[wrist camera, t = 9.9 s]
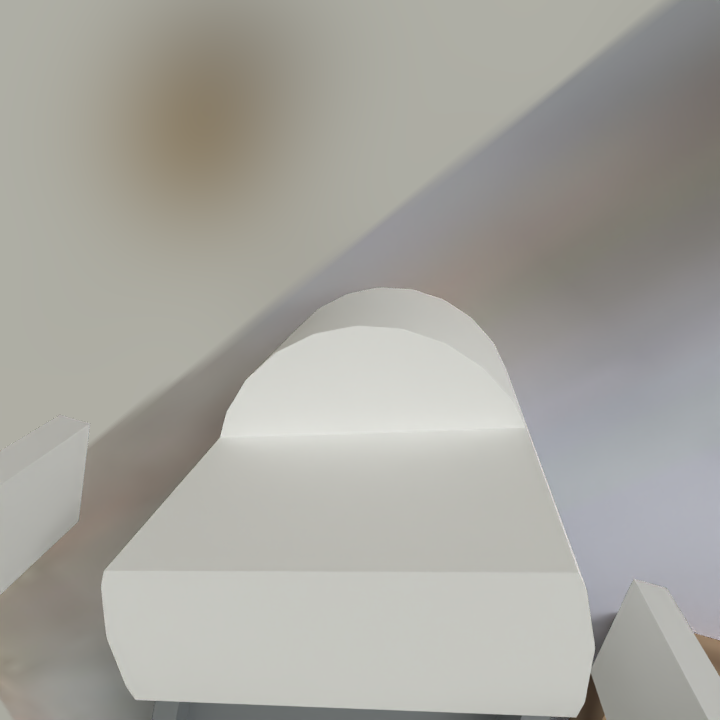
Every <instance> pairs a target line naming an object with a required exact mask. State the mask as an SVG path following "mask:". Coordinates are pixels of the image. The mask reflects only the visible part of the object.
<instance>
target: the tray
mask: <svg viewBox="0 0 720 720" xmlns="http://www.w3.org/2000/svg"><path fill="white" fill-rule="evenodd" d="M550 719H551V716H527V715H502V714H477V713H452V712H426V711H401V710H376V709H351V708H326V707H301V706H275V705H250V704H225V703H200V702H175V701H155V705H154V711H153V716H152V720H550Z"/></svg>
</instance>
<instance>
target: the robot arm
mask: <svg viewBox="0 0 720 720" xmlns="http://www.w3.org/2000/svg"><path fill="white" fill-rule="evenodd" d="M89 430H90V423H88V422H84V421H80V420H77V419H74V418H70V417H67V416H63V415H58V416H57V417H55V418H53V419H52V420H50V421H48V422H47V423H45V424H43V425H42V426H40V427H38V428H37V429H35V430H33V431H32V432H30V433H28V434H27V435H25V436H23V437H22V438H20V439H19V440H17V441H15V442H13V443H12V444H11V445H8V446H7V447H5V448H4V449H2V450H0V595H1V594H2V593H3V592H4V591H5V590H6V589H7V588H8V587H9V586H10V585H11V584H12V583H13V582H14V581H15V580H17V579H18V578H19V577H20V576H21V575H22V574H23V573H24V572H25V571H26V570H27V569H28V568H29V567H30V566H31V565H33V564H34V563H35V562H36V561H37V560H38V559H39V558H40V557H41V556H42V555H43V554H44V553H45V552H46V551H47V550H48V549H50V548H51V547H52V546H53V545H54V544H55V543H56V542H57V541H58V540H59V539H60V538H61V537H62V536H63V535H64V534H66V533H67V532H68V531H69V530H70V529H71V528H72V527H73V526H74V525H75V524H76V523H77V522H78V521H79V514H80V506H81V497H82V489H83V481H84V472H85V464H86V455H87V447H88V439H89ZM591 675H592V678H593V681H594V684H595V687H596V690H597V693H598V696H599V699H600V702H601V705H602V708H603V711H604V714H605V717H606V720H720V676H719V675H718V673H717V671H716V670H715V668H714V666H713V665H712V663H711V661H710V660H709V658H708V656H707V655H706V653H705V651H704V650H703V648H702V646H701V645H700V643H699V641H698V640H697V638H696V636H695V635H694V633H693V631H692V630H691V628H690V626H689V625H688V623H687V621H686V620H685V618H684V616H683V615H682V613H681V611H680V610H679V608H678V606H677V605H676V603H675V601H674V599H673V598H672V596H671V594H670V593H669V591H668V589H667V588H665V587H661V586H658V585H654V584H651V583H647V582H644V581H640V580H637V579H633V581H632V583H631V585H630V587H629V590H628V592H627V594H626V596H625V598H624V600H623V602H622V604H621V607H620V609H619V611H618V613H617V615H616V617H615V619H614V621H613V623H612V626H611V628H610V630H609V632H608V634H607V636H606V638H605V640H604V643H603V645H602V647H601V649H600V651H599V653H598V655H597V657H596V660H595V662H594V664H593V666H592V668H591Z"/></svg>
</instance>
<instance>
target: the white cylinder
mask: <svg viewBox="0 0 720 720" xmlns="http://www.w3.org/2000/svg"><path fill="white" fill-rule="evenodd" d="M101 592H102V601H103V611H104V620H105V629H106V638H107V640H108V643H109V645H110V648H111V650H112V653H113V655H114V658H115V660H116V663H117V665H118V668H119V670H120V673H121V675H122V678H123V680H124V683H125V685H126V687H127V688H128V690H129V691H130V693H131V694H132V695H133V697H134V698H135V700H149V701H175V702H200V703H225V704H250V705H275V706H301V707H326V708H351V709H376V710H401V711H426V712H452V713H477V714H502V715H527V716H552V717H577V715H578V714H579V712H580V710H581V708H582V707H583V705H584V703H585V699H586V694H587V688H588V683H589V678H590V673H591V668H592V663H593V657H594V652H595V643H594V636H593V629H592V622H591V615H590V608H589V601H588V594H587V589H586V586H585V583H584V581H583V578H582V575H581V573H580V570H579V567H578V564H577V562H576V559H575V556H574V553H573V551H572V548H571V545H570V542H569V540H568V537H567V534H566V532H565V529H564V526H563V523H562V521H561V518H560V515H559V512H558V510H557V507H556V504H555V501H554V499H553V496H552V493H551V490H550V488H549V485H548V482H547V480H546V477H545V474H544V471H543V469H542V466H541V463H540V460H539V458H538V455H537V452H536V449H535V447H534V444H533V441H532V439H531V436H530V433H529V430H528V428H527V425H526V422H525V419H524V417H523V414H522V411H521V408H520V406H519V403H518V400H517V397H516V395H515V392H514V389H513V387H512V384H511V381H510V378H509V376H508V373H507V370H506V368H505V366H504V364H503V362H502V360H501V358H500V356H499V354H498V351H497V349H496V347H495V345H494V343H493V342H492V340H491V339H490V338H489V337H488V336H487V335H486V334H485V332H484V331H483V330H482V329H481V328H480V327H479V326H478V324H477V323H476V322H475V321H474V320H473V319H472V318H471V317H470V316H468V315H467V314H465V313H464V312H462V311H461V310H459V309H457V308H456V307H454V306H453V305H451V304H450V303H448V302H447V301H445V300H443V299H440V298H437V297H434V296H431V295H428V294H425V293H422V292H419V291H416V290H413V289H401V288H385V287H378V288H373V289H368V290H363V291H358V292H353V293H348V294H346V295H344V296H342V297H340V298H338V299H336V300H334V301H332V302H330V303H328V304H326V305H324V306H322V307H320V308H319V309H318V310H317V311H316V312H315V313H313V314H312V315H311V316H310V317H309V318H308V319H307V320H306V321H305V322H304V323H303V324H301V325H300V326H299V327H298V328H297V329H296V330H295V331H294V332H293V333H292V334H291V335H290V336H289V337H288V338H287V339H286V340H285V341H284V342H283V343H282V344H281V345H280V346H279V347H278V348H277V349H276V350H275V351H274V352H273V353H272V354H271V355H270V356H269V357H268V358H267V359H266V360H265V361H264V362H263V363H262V364H261V365H260V366H259V367H258V368H257V369H256V370H255V371H254V372H253V373H252V374H251V375H250V376H249V377H248V378H247V379H246V381H245V382H244V384H243V386H242V387H241V389H240V391H239V392H238V394H237V396H236V397H235V399H234V401H233V402H232V404H231V406H230V407H229V409H228V411H227V412H226V416H225V420H224V424H223V428H222V432H221V435H220V438H219V439H218V440H217V442H216V443H215V444H214V445H213V446H212V447H211V448H210V450H209V451H208V452H207V453H206V454H205V455H204V456H203V458H202V459H201V460H200V461H199V462H198V463H197V464H196V466H195V467H194V468H193V469H192V470H191V471H190V473H189V474H188V475H187V476H186V477H185V478H184V479H183V481H182V482H181V483H180V484H179V485H178V486H177V487H176V489H175V490H174V491H173V492H172V493H171V494H170V495H169V497H168V498H167V499H166V500H165V501H164V502H163V504H162V505H161V506H160V507H159V508H158V509H157V510H156V512H155V513H154V514H153V515H152V516H151V517H150V518H149V520H148V521H147V522H146V523H145V524H144V525H143V526H142V528H141V529H140V530H139V531H138V532H137V533H136V535H135V536H134V537H133V538H132V539H131V540H130V541H129V543H128V544H127V545H126V546H125V547H124V548H123V549H122V551H121V552H120V553H119V554H118V555H117V556H116V557H115V559H114V560H113V561H112V562H111V563H110V564H109V565H108V567H107V568H106V569H105V570H104V573H103V578H102V583H101Z"/></svg>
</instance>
